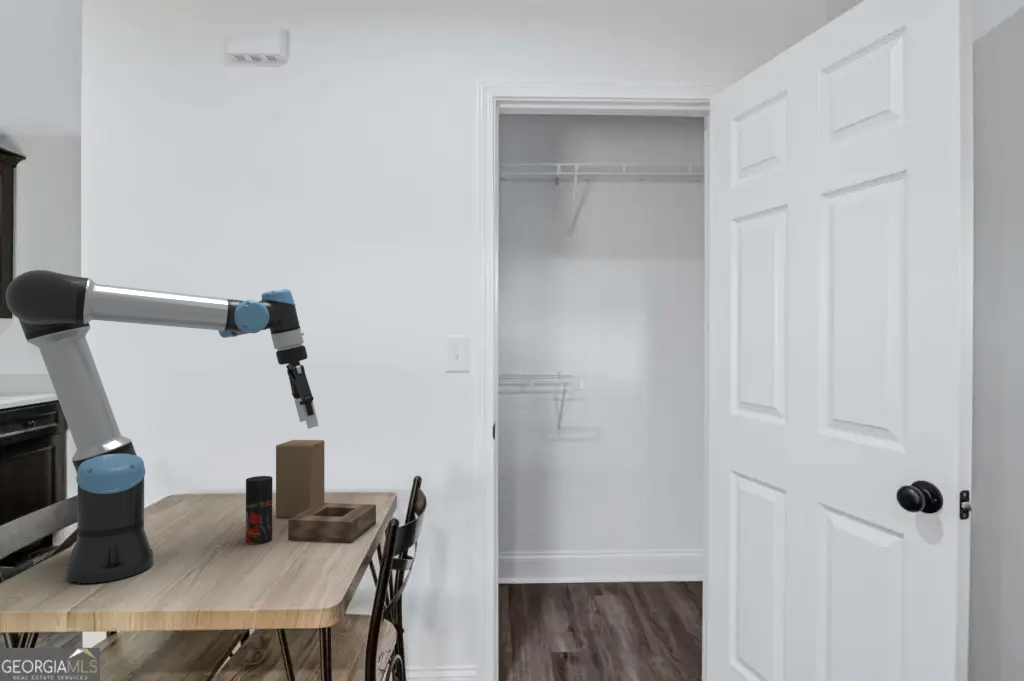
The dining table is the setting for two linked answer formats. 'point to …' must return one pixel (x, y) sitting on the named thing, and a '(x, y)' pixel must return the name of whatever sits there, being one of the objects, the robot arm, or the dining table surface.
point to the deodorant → (258, 510)
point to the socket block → (332, 522)
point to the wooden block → (299, 476)
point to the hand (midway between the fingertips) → (309, 423)
